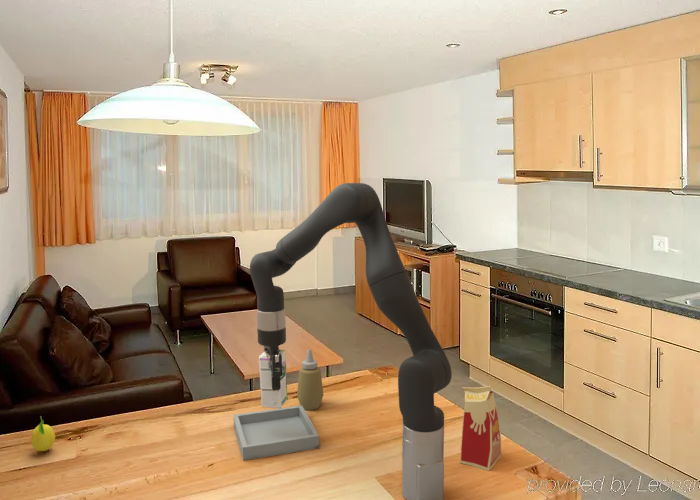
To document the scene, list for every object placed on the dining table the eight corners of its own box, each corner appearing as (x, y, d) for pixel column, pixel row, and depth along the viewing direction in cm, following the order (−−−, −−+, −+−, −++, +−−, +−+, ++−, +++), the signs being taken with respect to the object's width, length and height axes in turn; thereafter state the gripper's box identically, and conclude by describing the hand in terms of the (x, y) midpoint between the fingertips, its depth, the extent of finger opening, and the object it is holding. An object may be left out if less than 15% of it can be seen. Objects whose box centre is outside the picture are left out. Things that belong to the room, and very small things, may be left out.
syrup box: (281, 408, 160) (279, 356, 158) (260, 407, 161) (258, 355, 159) (287, 400, 166) (286, 349, 163) (267, 398, 167) (265, 348, 165)
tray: (319, 448, 159) (319, 435, 158) (243, 460, 153) (242, 447, 152) (302, 416, 178) (301, 405, 177) (233, 426, 172) (233, 414, 171)
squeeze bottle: (293, 410, 182) (291, 353, 179) (303, 399, 189) (301, 344, 186) (318, 413, 180) (317, 355, 176) (327, 402, 187) (326, 347, 184)
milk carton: (501, 455, 154) (504, 381, 151) (490, 471, 147) (492, 394, 143) (467, 446, 159) (469, 374, 156) (454, 462, 151) (456, 386, 148)
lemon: (46, 459, 155) (43, 422, 153) (26, 457, 155) (22, 421, 154) (63, 446, 161) (59, 411, 159) (43, 444, 162) (39, 410, 160)
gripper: (291, 331, 154) (292, 392, 157) (280, 317, 168) (282, 373, 171) (261, 334, 152) (264, 396, 155) (253, 319, 166) (255, 376, 168)
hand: (273, 384), depth 163 cm, fingers closed on syrup box, 7 cm apart
